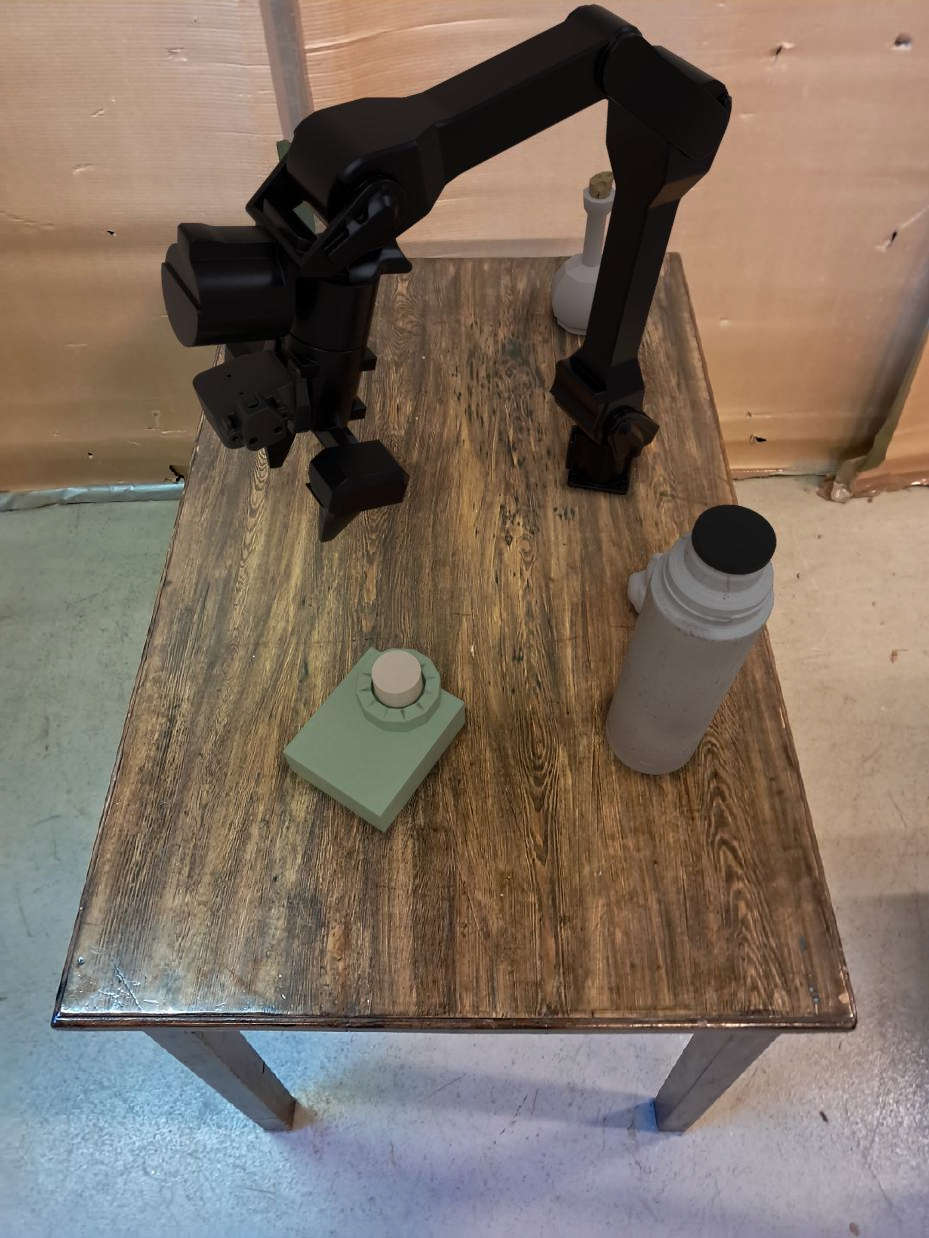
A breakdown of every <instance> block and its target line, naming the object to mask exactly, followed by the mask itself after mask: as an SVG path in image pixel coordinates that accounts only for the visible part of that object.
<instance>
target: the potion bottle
mask: <svg viewBox="0 0 929 1238" xmlns="http://www.w3.org/2000/svg"><path fill="white" fill-rule="evenodd" d="M613 184H614V177H613V173H612V170H608V171H607V170H605V171H601V172H598V173H596V174H594V175H592V176H591V177H590V178H589V181H588V186H586V187H585V188H584V189H582V202H583V210H585V212H586V214H587V215H586V226H585V231H584V240H583V250H582V252H580V253H578V252H577V253H575V254H574V255H572V256H570V257H569V258H568V259H566V260H565V262H563V263H562V265H561V266H560V267H559V268H558V270H556V272H555V275H554V278H553V280H552V282H551V285H550V291H551V293H550V294H551V304H552V311H553V316H554V317H556V318H557V319H556V321H557V324H558V325H559V327H562V328H563V329H564V330H566V331H567V332H568V333H569V334H573V335H582V336H585V335H586V330H587V325H588V321H589V316H590V311H591V306H592V301H593V297H594V292H595V287H596V282H597V277H598V273H599V268H600V263H601V258H602V253H603V247H604V240H605V239H604V238H605V232H606V224H607V216H608V215H609V214H611V210H612V205H613V200H614V196H615V188H614V187H613Z"/></svg>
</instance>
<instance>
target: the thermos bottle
mask: <svg viewBox="0 0 929 1238" xmlns="http://www.w3.org/2000/svg"><path fill="white" fill-rule="evenodd" d="M777 543H778V539H777V533H776V531H775V529H774V527H773V526H772V525H771V523H770V521H768V520H767V519H766V518H765V517H764V516H763V515H762V514H760V513H759V512H757V511H755V510H754V509H751V508H750V507H746V506H743V505H739V504H738V505H737V504H727V503H726V504H719V505H715V506H711V507H709V508H708V509H706V510H703V512H702V513H700V515H699V516H698V517H697V518H696V520H695V522H694V525H693V527H692V530H689V531H688V532H686V533H684V534H683V535H681V536H680V537H679V538H678V539H676V541H675V542H674V544H673V545H672V546H671V547H670V548H668V549H667V550H666V551H665V552H663V553H664V554H663V555H662V556H661V557H660V558H659V559H658V561H657V562H656V564H655V566H654V568H653V570H652V573H651V576H650V579H649V582H648V586H647V590H646V594H645V598H644V601H643V605H642V608H641V610H640V613H638V616H637V619H636V622H635V625H634V628H633V631H632V635H631V638H630V641H629V643H628V648H627V651H626V654H625V657H624V660H623V663H622V667H621V669H620V674H619V676H618V680H617V683H616V686H615V690H614V693H613V696H612V699H611V702H610V705H609V709H608V712H607V716H606V718H605V719H606V720H605V726H604V728H605V729H604V730H605V737H606V740H607V744H608V746H609V747H610V750H611V751H612V753H613V754H614V756H615V757H616V758H617V759H618V760H619V761H620V762H622V763H623V764H624V765H625V766H627V767H628V768H630V769H632V770H634V771H637V772H639V773H642V774H647V775H654V776H655V775H665V774H670V773H672V772H675V771H677V770H679V769H681V768H682V767H684V766H685V765H686V764H687V763H688V762H689V761H690V759H691V758H692V756H693V755H694V753H695V751H696V750H697V748H698V746H699V744H700V743H701V740H702V739H703V737H704V736H705V733H706V732H707V730H708V728H709V727H710V725H711V723H712V721H713V719H714V717H715V715H716V713H717V712H718V710H719V708H720V707H721V705H722V703H723V701H724V699H725V698H726V696H727V694H728V692H729V690H730V688H731V687H732V685H733V683H734V681H735V680H736V678H737V676H738V674H739V672H740V670H741V668H742V667H743V665H744V663H745V661H746V659H747V658H748V656H749V655H750V653H751V651H752V649H753V647H754V645H755V644H756V642H757V640H758V638H759V636H760V634H761V633H762V631H763V629H764V628H765V626H766V623H767V622H768V620H769V618H770V616H771V615H772V611H773V608H774V604H775V591H774V579H775V578H774V576H775V572H774V571H775V570H774V565H773V563H772V558H773V556H774V554H775V552H776V549H777V545H778V544H777Z"/></svg>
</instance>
